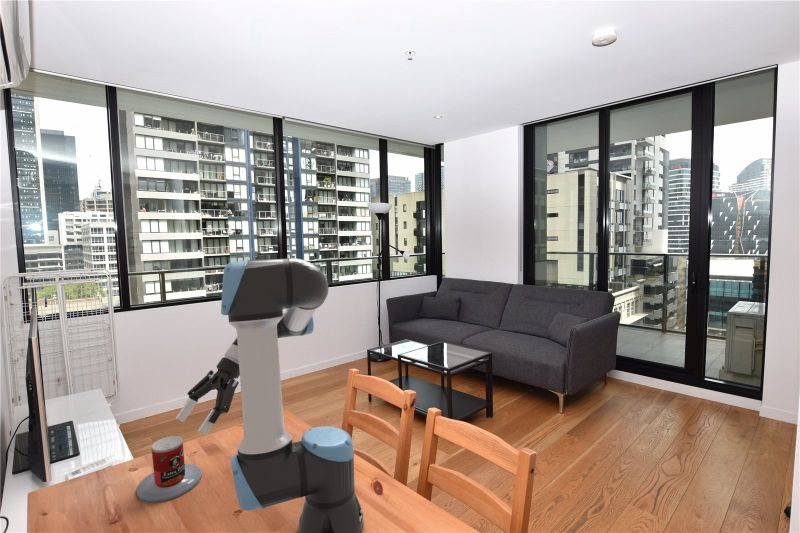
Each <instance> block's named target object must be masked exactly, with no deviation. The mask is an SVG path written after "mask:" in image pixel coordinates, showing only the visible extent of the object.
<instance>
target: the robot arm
mask: <svg viewBox="0 0 800 533" xmlns="http://www.w3.org/2000/svg"><path fill="white" fill-rule="evenodd" d="M222 276H223V277H222V288H221V289H222V291H221V306H220V307H221V308H220V314H221V315H222V316H227V317H228V323H229V325H230V326H232V327H234V329H236V337H235V339H234V341H233V342H232V343H231V345H230V346H229V348H228V349H227V350H226V352H225V353H224V357H221V359H220V360H219V361H218V363H217V365H216V369H217V371H216V372H215V371H213V370H209V372H208V373H207V374H206V375H205V376H204V377H203V378H202V379H201V380H200V381H198V382H197V383H196V384H195V385H194V386H193V387H192V388H191V389H189V391H188V392H187V393H186V394H187V395H188V400H187V401H186V402H185V403H184V405H183V407H182V408H181V409H180V410H179V412H178V413H177V415H176V417H175V419H176V420H178V421H180V422H182V423H185V422H186V420H187V418H188V417H189V415H190V414H191V412H192V411H193V410H194V408H195V407H196V405H197V404H198V403H199V400H200V399H201V398H203V397H204V396H205V395H207V394H208V393H210V392H211V391H215V390H217V393H216V400H215V404H214V407H212V409H211V410H210V412H209V413H208V414H207V416H206V418H205V419H204V421H203V422H202V423H201V425H200V427H199V428H198V430H197V431H198V432H199V433H201V434H202V435H205V436H207V435H208V433H209V432H210V430H211V428H213V426H214V424H215V423H216V422H217V421H218V419H219V417H220V416H221V414H224V413H225V414H227V413H228V412H230V407H231V405H232V400H233V398H234V395H235V392H236V389H237V387H238V385H240V395H241V396H240V399H241V410H242V411H241V413H242V424H243V439H242V440H241V442H240V443H239V444H238V445H237V453H236V454H234V455H233V456H231V458H230V464H231V470H232V476H233V483H234V489H235V492H236V497H237V502H238V504H239V507H240V508H241V509H242V510H243V511H245V512H249V511H255V510H258V509H261V510H263V509H266V508H268V507H272V506H275V505H278V504H282V503H286V502H290V501H292V500H296V499H300V498H303V497H304V503H303V506H302V511H301V514H300V517H299V521H298V532H299V533H362V531H363V527H364V513H363V512H364V511H363V509H362V506H361V504H360V500H359V498H358V496H357V494H356V490H355V487H356V486H355V463H354V462H355V461H354V459H355V458H354V457H355V451H354V445H353V444H354V443H353V439H352V437H351V435H350V434H349V433H348V432H347V431H345V430H343V429H342V428H338V427H336V426H329V425H328V426H325V425H324V426H322V425H321V426H316V427H312V428H309V429H308V430H306V431H305V432H304V433H303V434H302V437H301V438H300V441H295V442H293V436H292V435H291V434H290V433H289V432H287V431H286V430H285V423H284V407H283V394H282V382H281V380H282V378H281V366H280V364H281V363H280V353H279V351H280V350H279V339H281V338H289V337H291V338H292V337H298V336H299V337H300V336H301V337H302V336H305V335H310V334H313V332H314V327H315V325H314V317H313V315H314V313H315V311H316V309H318V308H320V307H321V306H322V305H323V304H324V303H325V301H326V299H327V297H328V294H329V282H328V279H327V277H326V275H325V274H324V273H323V271H322V270H321V269H320V268H319V267H318V266H316V265H315V264H314V263H311V262H309V261H308V260H305V259H302V258H296V257H289V258H277V259H276V258H272V259H246V260H240V261H232V262H229V263H227V264H226V265H225V267H224V269H223V275H222ZM285 309H286V310H285ZM283 310H285V312H284V311H283ZM236 379H240V380H239V381H238V380H236Z"/></svg>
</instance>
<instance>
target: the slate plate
mask: <svg viewBox="0 0 800 533" xmlns="http://www.w3.org/2000/svg"><path fill="white" fill-rule="evenodd" d="M201 479H202V469H201V468H200V467H199V466H198V465H195V464H194V463H193V464H191V463H185V476H184V479H183V480H182V481H181V482H179V483H178V484H176V485H174V486H171V487H165V488H162V487H158V486H157V485H156V483H155V479H154V471H153V472H152V473H150V474H149V475H147V476H146V477H145V478H143V479H142V480H140V482H139V483H138V485H137V487H136V496H137V498H138V499H139V500H140V501H143V502H144V503H145V502H146V503H160V502H161V503H162V502H166V501H170V500H173V499H177V498H178V497H181V496H183V495H185V494H186V493H188V492H190V491H191V490H193V489H194V488H195V487H196V486H197V485H198V484H199V483H200V481H201Z"/></svg>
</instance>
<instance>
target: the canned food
mask: <svg viewBox="0 0 800 533" xmlns="http://www.w3.org/2000/svg"><path fill="white" fill-rule="evenodd" d="M151 456H152V457H151V458H152V459H151V460H152V469H153V472H154V479H155V483H156V485H157V486H158V487H162V488H165V487H171V486H174V485H176V484H178V483H179V482H181V481H182V480H183V479H184V476H185V464H186V463H185V452H184V441H183V438H182V437H181V436H178V435H171V436H166V437H162V438H160V439H158V440H156V441H154V443H152V445H151Z"/></svg>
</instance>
